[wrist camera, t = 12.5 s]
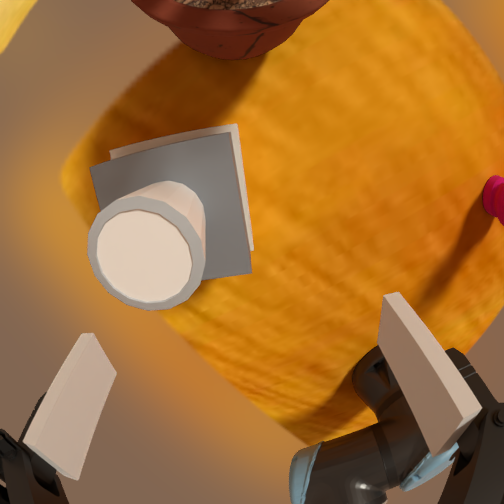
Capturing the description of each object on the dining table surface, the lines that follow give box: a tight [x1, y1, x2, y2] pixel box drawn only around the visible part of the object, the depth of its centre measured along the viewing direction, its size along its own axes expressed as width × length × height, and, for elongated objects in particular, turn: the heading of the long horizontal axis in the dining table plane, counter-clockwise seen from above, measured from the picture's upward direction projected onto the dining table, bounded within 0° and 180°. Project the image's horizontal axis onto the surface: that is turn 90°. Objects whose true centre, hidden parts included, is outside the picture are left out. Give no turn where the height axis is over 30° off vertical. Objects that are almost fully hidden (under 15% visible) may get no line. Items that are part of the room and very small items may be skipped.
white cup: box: [87, 181, 206, 311], centre depth 17 cm, size 7×7×7 cm
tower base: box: [109, 124, 254, 251], centre depth 27 cm, size 12×12×5 cm
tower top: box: [90, 132, 252, 280], centre depth 23 cm, size 11×11×5 cm
